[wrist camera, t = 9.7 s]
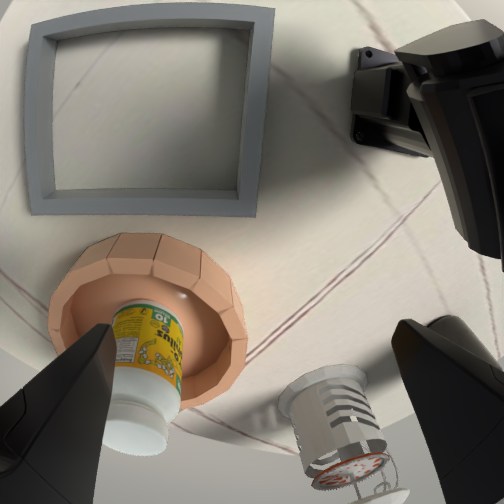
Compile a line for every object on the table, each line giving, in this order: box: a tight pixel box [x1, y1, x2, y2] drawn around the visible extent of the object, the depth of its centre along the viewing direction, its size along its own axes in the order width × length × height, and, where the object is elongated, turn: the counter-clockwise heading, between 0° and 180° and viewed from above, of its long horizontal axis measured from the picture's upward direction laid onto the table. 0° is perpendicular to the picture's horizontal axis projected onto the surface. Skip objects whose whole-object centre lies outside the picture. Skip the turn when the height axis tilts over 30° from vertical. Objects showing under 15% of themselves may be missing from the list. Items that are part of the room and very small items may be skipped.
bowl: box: [47, 233, 248, 410], centre depth 21 cm, size 14×14×4 cm
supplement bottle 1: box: [102, 299, 184, 456], centre depth 17 cm, size 5×5×10 cm
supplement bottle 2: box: [428, 316, 503, 371], centre depth 23 cm, size 7×7×12 cm
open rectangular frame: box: [24, 2, 275, 218], centre depth 15 cm, size 14×12×2 cm
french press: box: [278, 364, 410, 504], centre depth 19 cm, size 10×12×25 cm
